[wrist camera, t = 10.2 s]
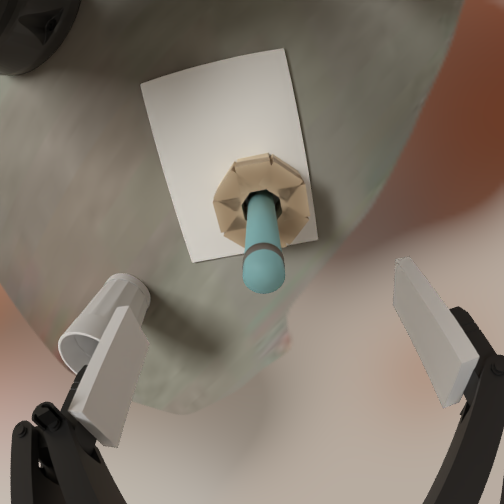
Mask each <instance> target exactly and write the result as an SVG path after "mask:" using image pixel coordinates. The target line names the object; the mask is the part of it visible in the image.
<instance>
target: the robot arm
mask: <svg viewBox="0 0 504 504" xmlns="http://www.w3.org/2000/svg"><path fill="white" fill-rule="evenodd" d="M79 4H80V0H0V75H19V74H23V73H26V72H29V71H31V70H33V69H35V68H36V67H38V66H39V65H41V64H42V63H43V62H44V61H46V60H47V59H48V58H49V57H50V56H51V55H52V54H53V53H54V52H55V50H56V49H57V48H58V47H59V45H60V44H61V43H62V41H63V40H64V38H65V37H66V35H67V33H68V32H69V30H70V28H71V26H72V24H73V22H74V19H75V17H76V14H77V11H78V8H79ZM393 306H394V308H395V310H396V312H397V313H398V315H399V317H400V319H401V321H402V323H403V325H404V327H405V329H406V331H407V333H408V335H409V337H410V338H411V340H412V343H413V345H414V347H415V348H416V351H417V353H418V355H419V357H420V359H421V361H422V363H423V365H424V367H425V369H426V372H427V374H428V376H429V378H430V380H431V382H432V385H433V387H434V389H435V391H436V393H437V396H438V398H439V400H440V403H441V405H442V407H443V408H445V407H448V406H451V405H453V404H456V403H458V402H459V401H460V400H461V398H462V395H463V394H464V395H465V398H466V400H467V402H466V404H465V406H464V408H463V410H462V411H461V413H460V415H461V418H460V422H459V424H458V427H457V430H456V432H455V435H454V438H453V440H452V442H451V445H450V448H449V450H448V452H447V455H446V457H445V459H444V462H443V464H442V466H441V468H440V470H439V473H438V475H437V477H436V479H435V481H434V483H433V485H432V487H431V489H430V491H429V493H428V495H427V497H426V499H425V500H424V502H423V504H478V503H479V500H480V498H481V495H482V493H483V490H484V488H485V485H486V483H487V480H488V477H489V474H490V472H491V469H492V466H493V463H494V460H495V457H496V453H497V450H498V447H499V443H500V440H501V436H502V432H503V428H504V356H503V355H497V354H496V353H495V351H494V349H493V348H492V346H491V345H490V344H489V342H488V340H487V339H486V337H485V336H484V334H483V333H482V332H481V330H479V327H478V326H477V324H476V323H474V320H473V319H472V317H471V316H470V315H469V313H468V312H466V311H465V310H463V309H462V308H460V307H455V308H452V309H448V307H447V306H446V305H445V303H444V302H443V300H442V299H441V297H440V296H439V295H438V293H437V292H436V291H435V289H434V288H433V286H432V285H431V284H430V282H429V281H428V280H427V278H426V277H425V276H424V275H423V273H422V272H421V271H420V269H419V268H418V267H417V265H416V264H415V263H414V261H413V260H412V259H411V258H410V256H408V257H403V258H399V259H395V278H394V296H393ZM149 345H150V344H149V342H148V340H147V338H146V336H145V335H144V333H143V331H142V329H141V327H140V325H139V323H138V322H137V320H136V318H135V316H134V314H133V312H132V310H131V308H130V306H122V307H117V308H116V310H115V312H114V314H113V316H112V318H111V320H110V322H109V324H108V325H107V327H106V329H105V331H104V333H103V335H102V337H101V339H100V341H99V343H98V345H97V348H96V350H95V352H94V354H93V356H92V358H91V360H90V362H89V364H88V365H84V366H83V367H82V369H81V370H80V371H79V372H78V373H77V376H76V378H75V380H74V383H73V384H72V387H71V390H70V391H69V393H68V395H67V397H66V400H65V402H64V404H63V406H62V409H61V411H59V410H58V409H57V408H56V407H55V406H54V405H53V403H51V402H44V403H41V404H40V405H38V406H37V407H36V408H35V410H34V411H33V414H32V421H34V423H36V424H37V425H38V426H36V427H34V426H33V425H32V424H31V423H30V422H28V421H21V422H19V423H18V424H17V425H16V426H15V428H14V430H13V434H12V447H11V504H127V503H126V501H125V500H124V498H123V496H122V494H121V493H120V491H119V489H118V487H117V485H116V484H115V482H114V480H113V478H112V476H111V474H110V472H109V470H108V468H107V466H106V464H105V462H104V460H103V458H102V456H101V454H100V451H99V449H98V448H97V447H96V446H95V443H96V440H98V441H99V442H100V443H101V444H102V445H103V446H108V447H116V448H118V445H119V442H120V438H121V434H122V431H123V427H124V424H125V421H126V417H127V414H128V410H129V407H130V404H131V401H132V397H133V394H134V391H135V388H136V385H137V381H138V378H139V375H140V372H141V369H142V366H143V363H144V360H145V357H146V354H147V351H148V348H149ZM38 462H40V463H41V467H39V463H38ZM500 504H504V478H503V486H502V494H501V501H500Z"/></svg>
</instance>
